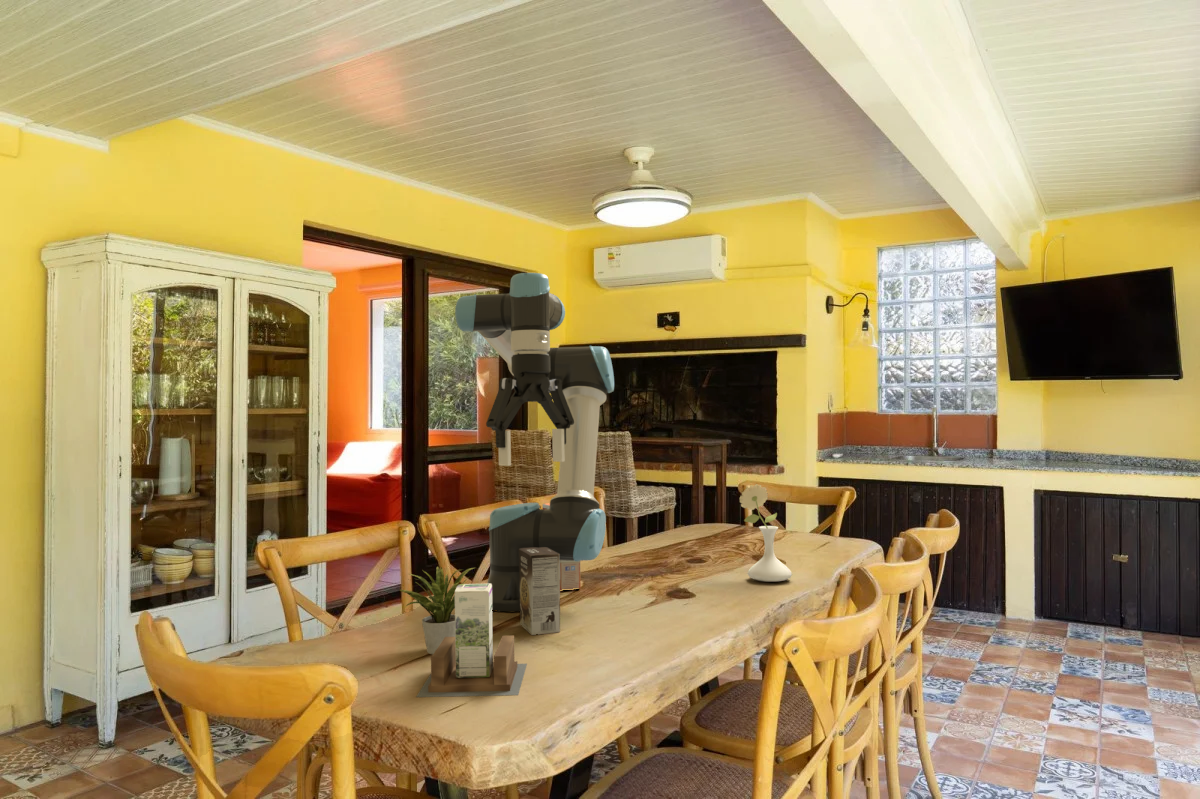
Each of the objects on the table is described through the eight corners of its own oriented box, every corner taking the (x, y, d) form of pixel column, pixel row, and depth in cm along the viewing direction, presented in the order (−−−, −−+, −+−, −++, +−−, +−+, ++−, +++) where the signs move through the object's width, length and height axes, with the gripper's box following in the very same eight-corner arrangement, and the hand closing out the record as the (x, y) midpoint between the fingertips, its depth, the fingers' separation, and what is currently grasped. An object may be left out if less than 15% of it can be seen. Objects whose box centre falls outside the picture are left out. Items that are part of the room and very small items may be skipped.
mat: (527, 665, 143) (527, 663, 143) (518, 696, 127) (518, 694, 127) (436, 667, 143) (436, 665, 143) (416, 698, 127) (416, 696, 127)
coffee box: (518, 625, 171) (517, 548, 171) (548, 621, 173) (547, 545, 173) (530, 635, 162) (529, 554, 163) (561, 632, 165) (560, 552, 165)
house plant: (450, 635, 163) (448, 554, 164) (497, 647, 155) (496, 561, 155) (391, 652, 152) (389, 565, 153) (438, 666, 144) (437, 573, 144)
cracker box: (582, 590, 203) (580, 506, 204) (559, 592, 201) (558, 508, 201) (564, 580, 216) (562, 501, 217) (542, 582, 214) (541, 502, 215)
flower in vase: (789, 576, 216) (787, 482, 216) (795, 585, 205) (793, 485, 205) (739, 576, 217) (737, 482, 218) (742, 585, 206) (740, 486, 206)
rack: (517, 667, 141) (516, 635, 141) (510, 690, 129) (509, 656, 129) (442, 668, 141) (442, 636, 141) (428, 692, 129) (427, 657, 129)
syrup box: (493, 667, 138) (492, 581, 138) (490, 678, 132) (488, 589, 133) (460, 668, 138) (458, 582, 138) (455, 679, 132) (453, 590, 132)
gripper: (491, 349, 146) (493, 468, 146) (590, 355, 164) (592, 460, 163) (466, 352, 151) (468, 466, 151) (564, 357, 169) (566, 459, 169)
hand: (532, 463), depth 157 cm, fingers open, 13 cm apart
